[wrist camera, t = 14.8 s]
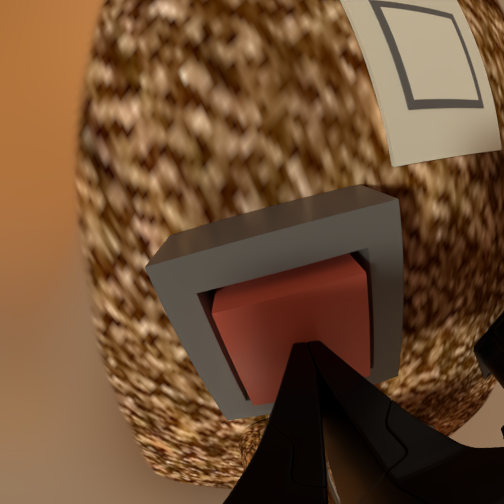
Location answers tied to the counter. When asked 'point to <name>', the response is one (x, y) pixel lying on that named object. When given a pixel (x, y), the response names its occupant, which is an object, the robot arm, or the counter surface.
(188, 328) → the button housing
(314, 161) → the counter surface
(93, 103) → the counter surface
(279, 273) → the button
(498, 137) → the colouring card
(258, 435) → the beer glass
